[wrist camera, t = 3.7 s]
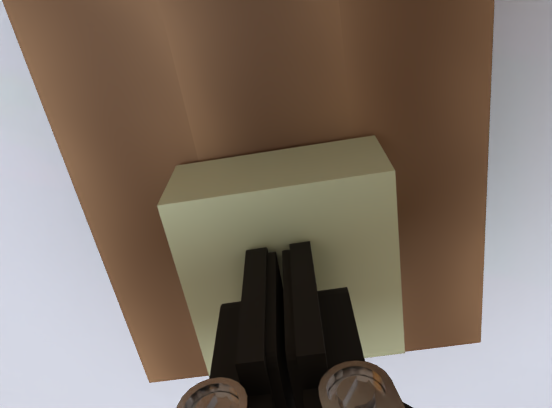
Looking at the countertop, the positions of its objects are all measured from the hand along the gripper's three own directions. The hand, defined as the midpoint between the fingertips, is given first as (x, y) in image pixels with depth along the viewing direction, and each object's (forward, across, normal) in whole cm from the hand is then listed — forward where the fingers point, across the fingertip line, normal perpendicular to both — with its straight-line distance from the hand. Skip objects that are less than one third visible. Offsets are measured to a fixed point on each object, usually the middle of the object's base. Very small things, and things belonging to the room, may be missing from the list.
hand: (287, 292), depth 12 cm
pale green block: (+7, 0, 0) cm, 7 cm away
